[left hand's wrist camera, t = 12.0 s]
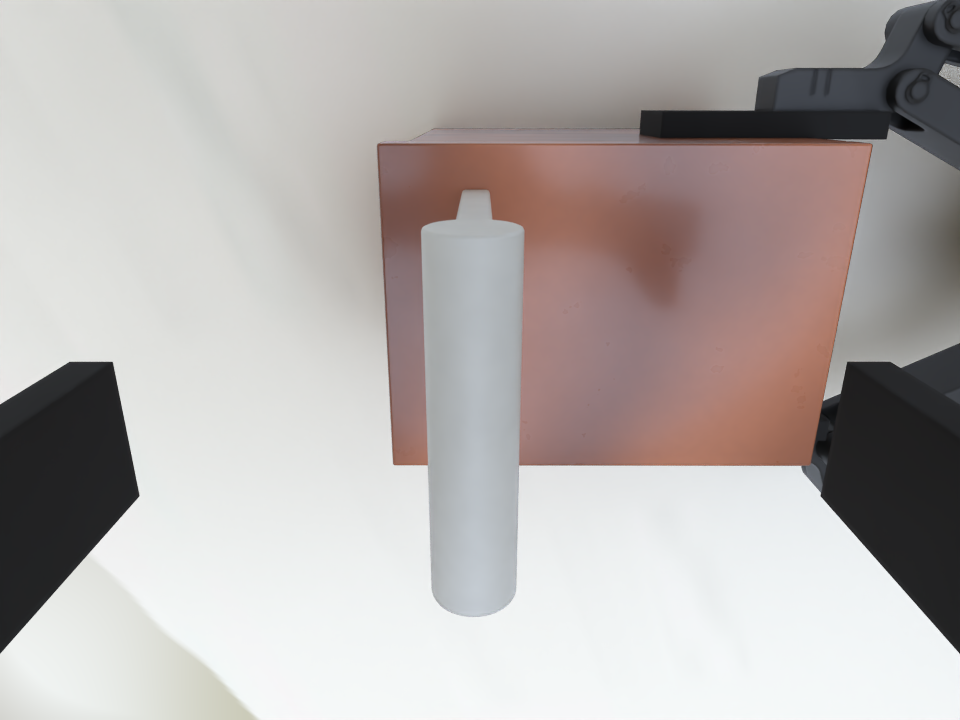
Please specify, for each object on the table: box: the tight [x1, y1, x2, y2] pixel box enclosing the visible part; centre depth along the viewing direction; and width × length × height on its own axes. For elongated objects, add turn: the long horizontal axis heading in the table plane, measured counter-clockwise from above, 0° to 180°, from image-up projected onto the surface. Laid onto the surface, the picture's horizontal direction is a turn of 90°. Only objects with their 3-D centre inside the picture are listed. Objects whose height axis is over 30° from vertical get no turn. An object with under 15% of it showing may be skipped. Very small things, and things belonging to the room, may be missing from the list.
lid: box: [377, 141, 872, 617], centre depth 15 cm, size 12×9×8 cm
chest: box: [411, 129, 846, 142], centre depth 24 cm, size 12×9×10 cm
